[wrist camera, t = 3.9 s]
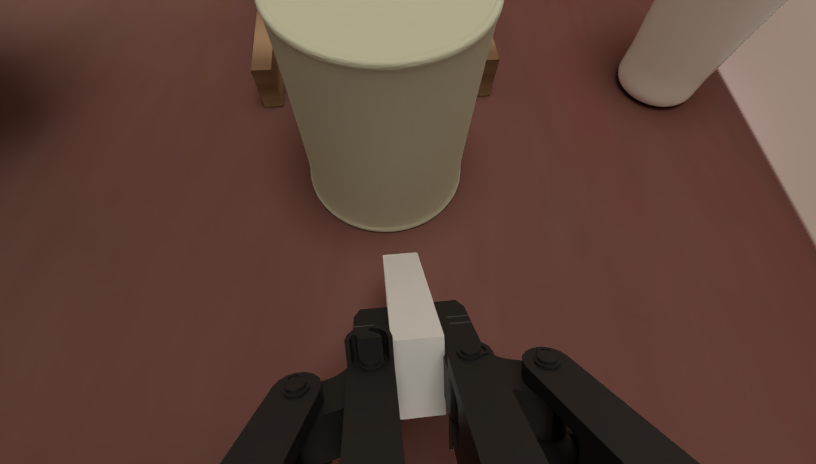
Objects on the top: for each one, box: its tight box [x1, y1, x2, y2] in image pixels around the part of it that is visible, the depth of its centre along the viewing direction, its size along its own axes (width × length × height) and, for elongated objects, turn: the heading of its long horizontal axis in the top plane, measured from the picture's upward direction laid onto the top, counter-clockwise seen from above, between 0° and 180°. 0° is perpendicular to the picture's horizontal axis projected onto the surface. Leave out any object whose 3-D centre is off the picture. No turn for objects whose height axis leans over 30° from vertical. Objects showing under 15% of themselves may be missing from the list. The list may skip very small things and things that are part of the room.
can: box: [255, 0, 504, 232], centre depth 19 cm, size 9×9×12 cm
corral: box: [251, 10, 499, 107], centre depth 29 cm, size 13×15×3 cm
